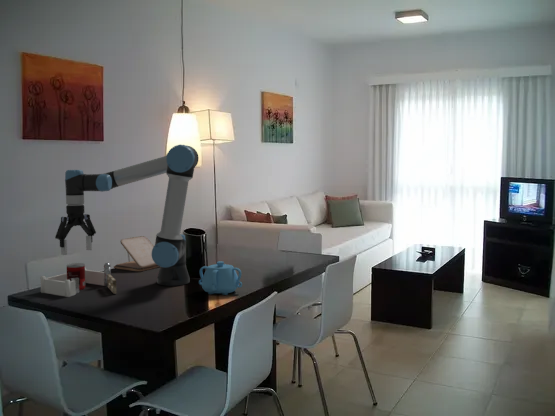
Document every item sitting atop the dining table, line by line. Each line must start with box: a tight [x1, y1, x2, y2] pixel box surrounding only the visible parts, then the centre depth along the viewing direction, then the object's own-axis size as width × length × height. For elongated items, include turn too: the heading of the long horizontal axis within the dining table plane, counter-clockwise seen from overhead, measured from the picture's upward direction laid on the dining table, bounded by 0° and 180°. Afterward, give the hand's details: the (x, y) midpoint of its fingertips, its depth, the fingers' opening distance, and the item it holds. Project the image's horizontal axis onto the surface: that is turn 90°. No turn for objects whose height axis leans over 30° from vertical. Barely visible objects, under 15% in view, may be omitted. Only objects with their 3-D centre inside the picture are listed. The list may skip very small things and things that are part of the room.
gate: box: [106, 274, 118, 295], centre depth 244 cm, size 15×1×6 cm, turn 27°
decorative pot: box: [198, 260, 243, 296], centre depth 242 cm, size 16×16×14 cm
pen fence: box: [40, 266, 105, 298], centre depth 247 cm, size 17×25×7 cm
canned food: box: [66, 262, 86, 291], centre depth 247 cm, size 8×8×11 cm
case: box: [113, 235, 160, 273], centre depth 297 cm, size 20×21×16 cm
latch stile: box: [71, 277, 80, 294], centre depth 240 cm, size 2×2×6 cm
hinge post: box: [103, 262, 112, 287], centre depth 253 cm, size 3×3×11 cm
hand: (76, 252), depth 246 cm, fingers open, 13 cm apart
